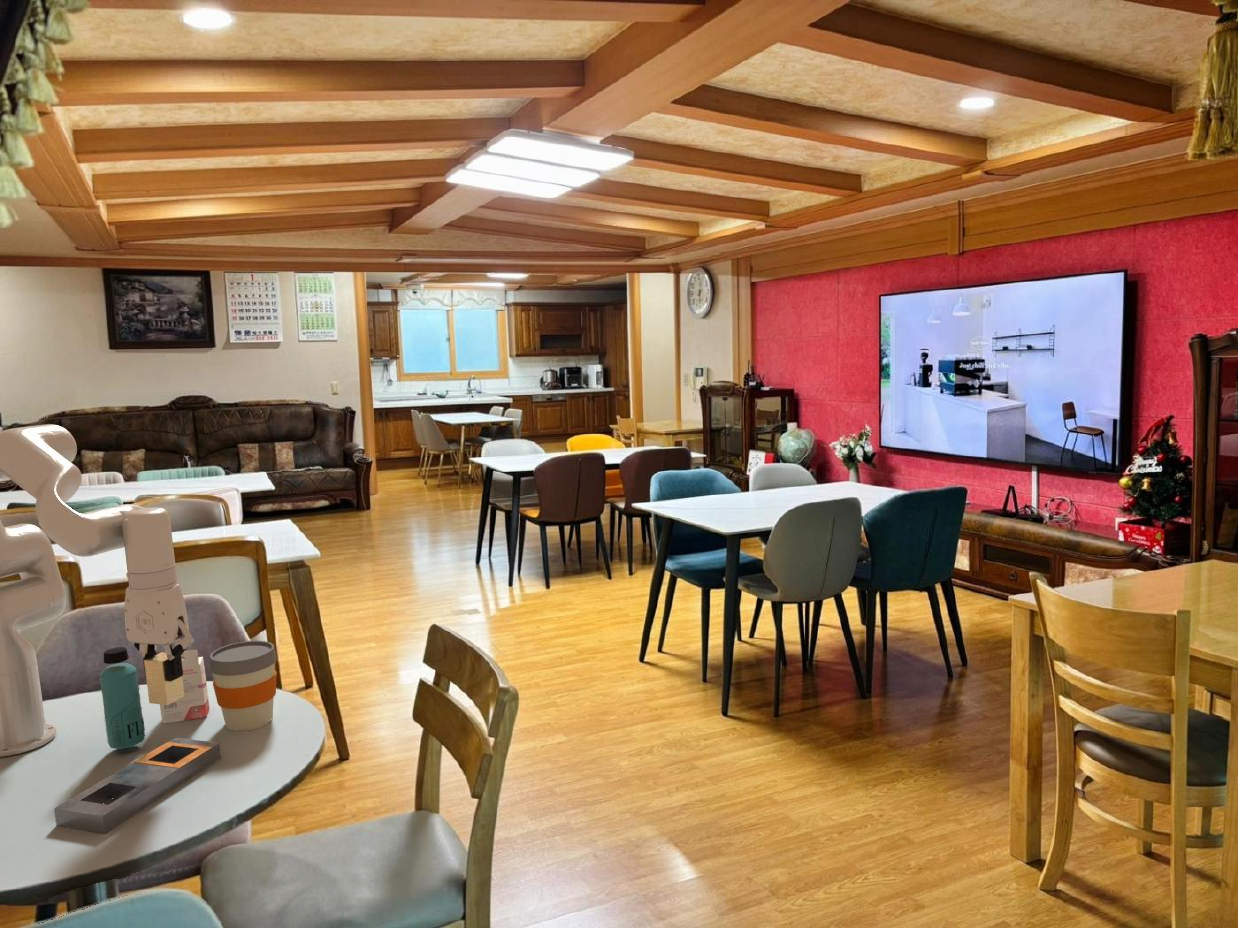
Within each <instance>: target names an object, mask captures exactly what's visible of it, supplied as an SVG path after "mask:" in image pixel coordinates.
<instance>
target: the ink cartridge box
mask: <svg viewBox="0 0 1238 928" xmlns="http://www.w3.org/2000/svg"><path fill="white" fill-rule="evenodd" d="M181 660H182V669H183V676H182V679H183V688H184V697H182V698H180V699H178V700H176V701H174V702H172V703H171V704H169V705H162V704H159V706H160V717H161V722H162V724H171V723H176V722H177V723H178V722H182V721H191V720H198V719H204V718H207V716H208V713H209V711H210V709H211V708H210V700H209V693H208V692H209V690H208V685H207V684H208V683H207V675H206V668H205V661H204V660H205V659H204V656H199V652H198V650H197V649H192V650H191V649H190V650H185V651H184V654H183V655H181Z"/></svg>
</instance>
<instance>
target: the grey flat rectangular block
mask: <svg viewBox="0 0 1238 928" xmlns="http://www.w3.org/2000/svg"><path fill="white" fill-rule="evenodd" d="M221 759H222V753H221V743H220V742H216V741H215V742H213V741H208V740H207V741H206V740H198V739H190V738H181V737H175V738H173V739H171V740H169V741H167V742H165V743H164V744H161V745H160V746H158V747H156V748H154V750H152V751H150V752H148V753H146V754H145V755H143V756H140V757H139V758H138V759H136V760H134V761H133V762H132V763H129V764H128V765H127V766H125V767H122V768H121V769H119V770H117V771H116V772H114V773H113V774H111V775H109V776H107V777H106V778H104V779H102V780H101V781H99V782H97V783H95V784H94V785H92V786H90V787H88V788H87V789H85V790H83V791H81V792H80V793H78V794H77V795H75V796H73V797H71V798H69V799H68V800H66V801H64V802H63V803H61V804H59V805H58V806H56V807H54V809H53V811H54V817H55V824H56V825H55V826H57V827H63V828H68V829H74V830H81V831H85V832H86V831H87V832H92V833H93V832H94V833H99V834H103V835H104V834H107V833H108V832H110V831H111V830H113V829H114V828H116V827H117V826H119V825H120V824H122V823H123V822H125V821H127V820H128V819H129V818H131V817H134V816H135V815H136V814H138V813H140V812H141V811H142V810H143V809H145V808H147V807H148V806H149V805H152V804H153V803H155V802H156V801H158V800H159V799H160V798H162V797H164V796H166V795H167V794H168V793H170V792H172V791H173V790H175V789H176V788H177V787H179V786H180V785H182V784H184V783H185V782H187V781H188V780H190V779H192V777H195V776H196V775H198V774H199V773H201V772H203V771H204V770H205V769H207V768H209V767H210V766H211V765H214V764H215V763H216V762H218V761H219V760H221ZM174 762H175V763H174ZM163 795H164V796H163ZM112 798H113V799H112ZM110 799H111V800H113V802H111V803H109V804H106V803H108V802H109V800H110ZM115 799H117V800H115ZM111 800H110V801H111ZM107 801H108V802H107ZM103 803H105V804H103Z"/></svg>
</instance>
